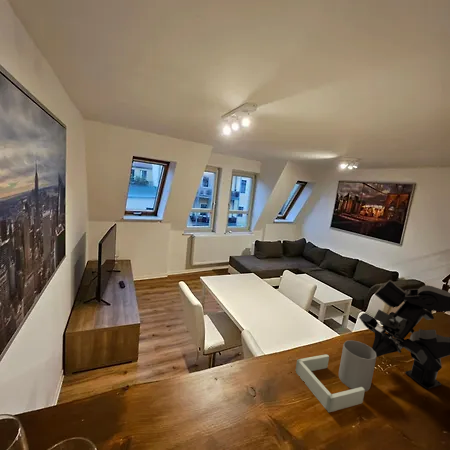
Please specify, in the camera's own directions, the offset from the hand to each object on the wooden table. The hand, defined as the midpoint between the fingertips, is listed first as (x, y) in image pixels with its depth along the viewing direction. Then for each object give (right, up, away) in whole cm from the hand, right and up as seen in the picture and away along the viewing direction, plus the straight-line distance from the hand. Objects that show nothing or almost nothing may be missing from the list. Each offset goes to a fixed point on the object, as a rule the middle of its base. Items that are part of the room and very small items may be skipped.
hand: (371, 356), depth 74 cm
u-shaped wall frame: (-15, -6, -4) cm, 17 cm away
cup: (-6, -7, -1) cm, 9 cm away
